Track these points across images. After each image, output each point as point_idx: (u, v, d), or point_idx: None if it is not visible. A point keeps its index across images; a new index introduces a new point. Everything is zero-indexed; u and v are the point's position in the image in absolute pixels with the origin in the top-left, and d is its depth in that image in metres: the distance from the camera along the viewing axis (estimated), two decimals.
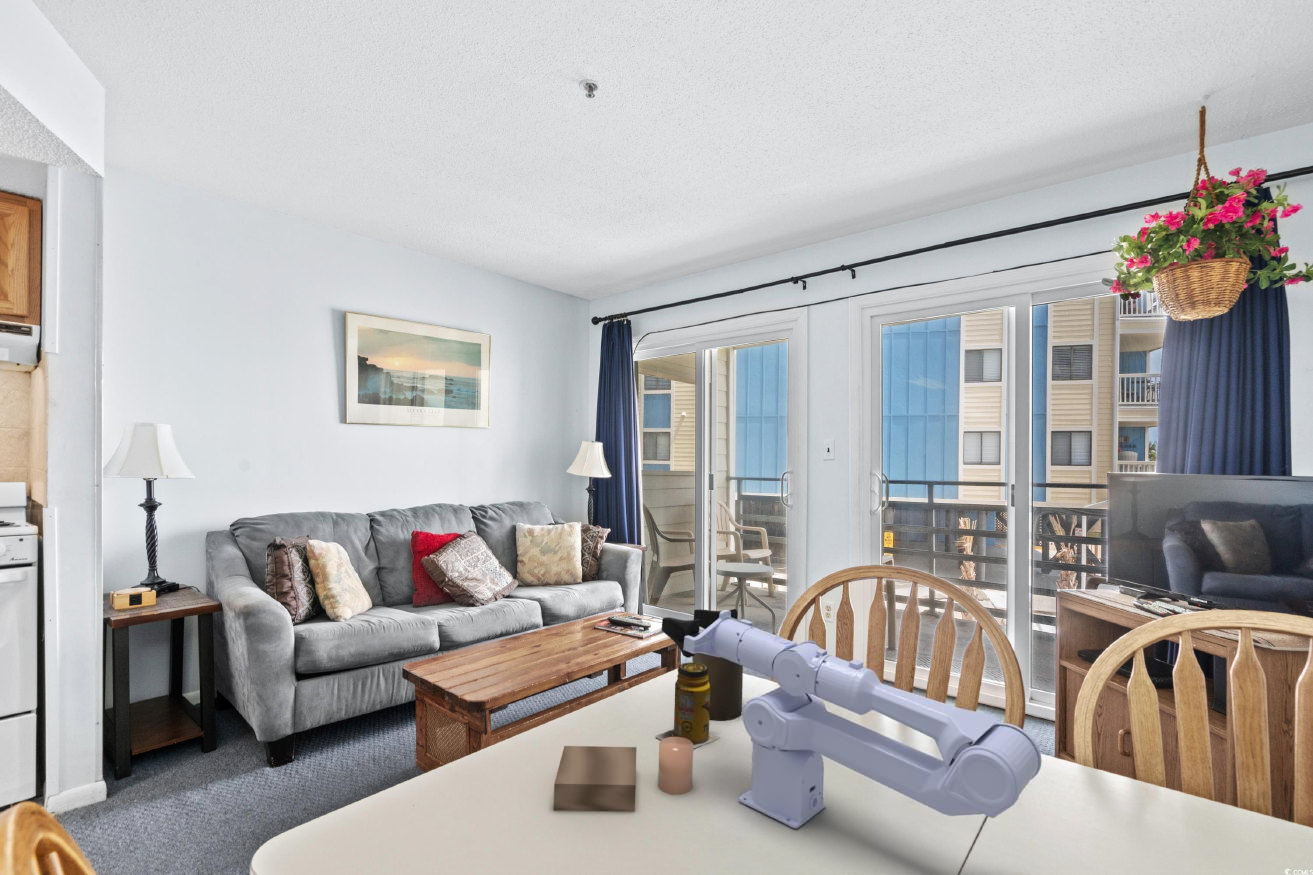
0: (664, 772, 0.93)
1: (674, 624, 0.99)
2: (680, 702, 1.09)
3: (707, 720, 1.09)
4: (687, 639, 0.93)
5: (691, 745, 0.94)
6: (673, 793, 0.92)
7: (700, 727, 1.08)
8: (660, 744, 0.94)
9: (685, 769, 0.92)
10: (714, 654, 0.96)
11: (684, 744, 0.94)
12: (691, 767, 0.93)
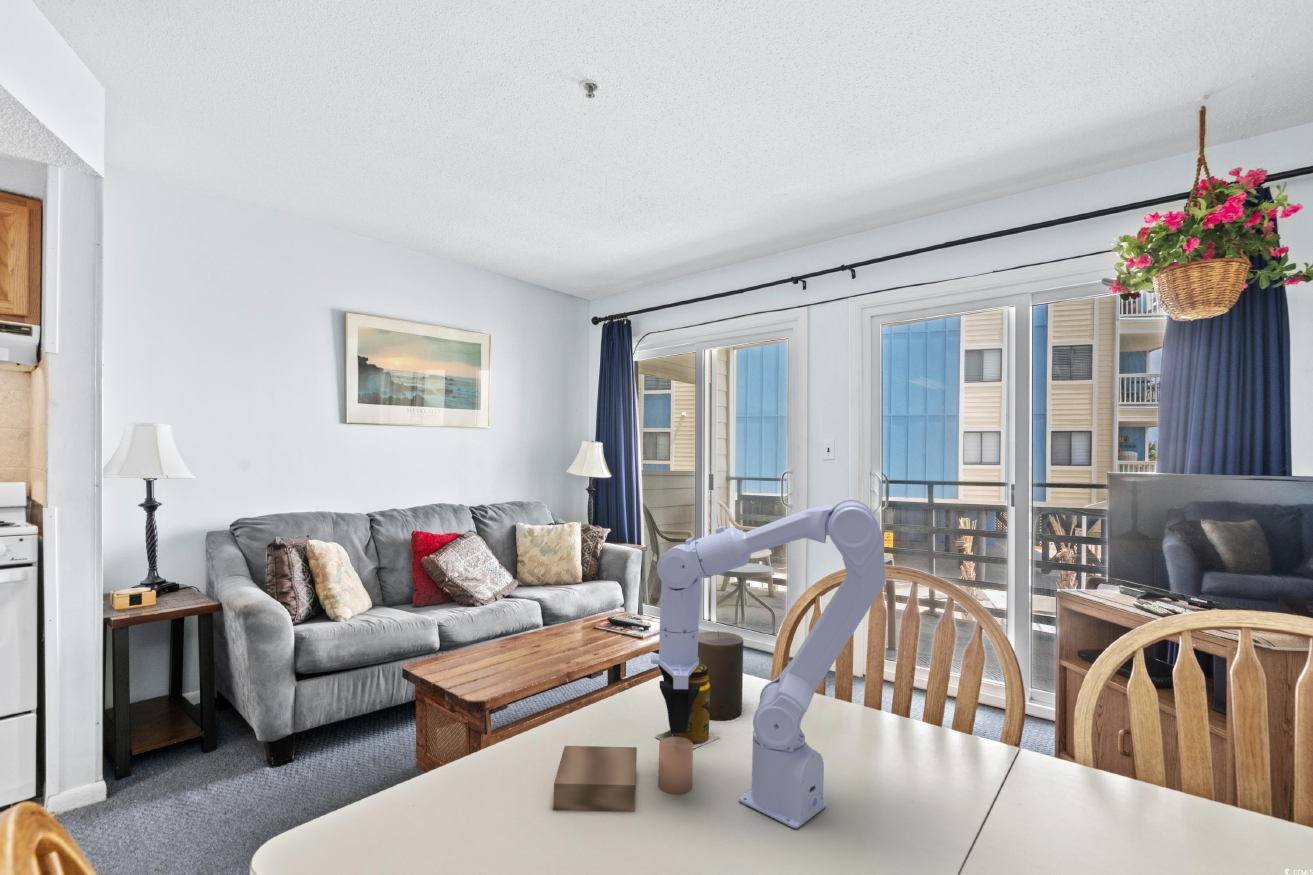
0: (664, 772, 0.93)
1: (672, 714, 0.90)
2: None
3: (707, 720, 1.09)
4: (675, 684, 0.87)
5: (691, 745, 0.94)
6: (673, 793, 0.92)
7: (700, 727, 1.08)
8: (660, 744, 0.94)
9: (685, 769, 0.92)
10: (694, 662, 0.93)
11: (684, 744, 0.94)
12: (691, 767, 0.93)
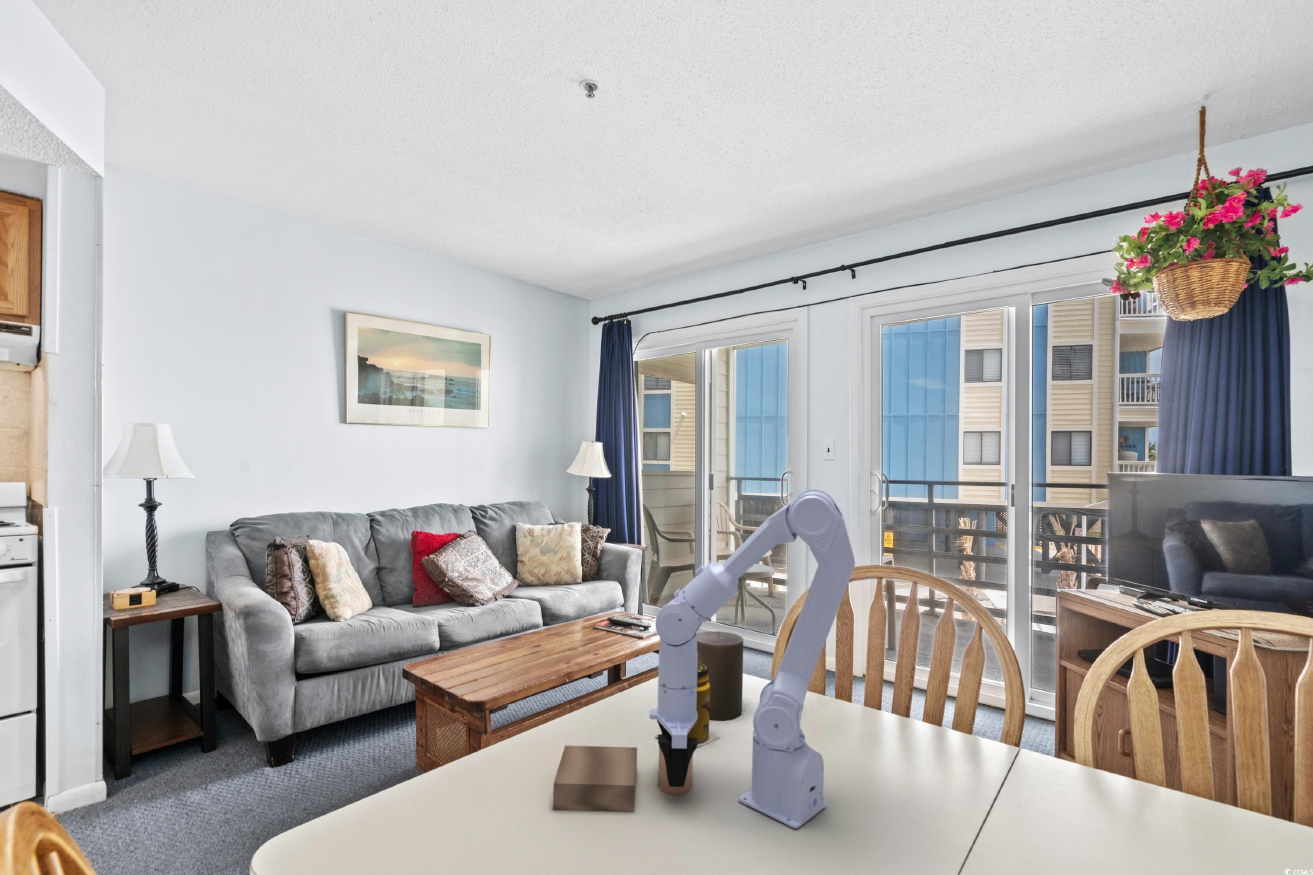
0: (664, 772, 0.93)
1: (671, 767, 0.91)
2: None
3: (707, 720, 1.09)
4: (674, 743, 0.87)
5: None
6: (673, 793, 0.92)
7: (700, 727, 1.08)
8: None
9: None
10: (693, 718, 0.92)
11: None
12: (691, 767, 0.93)
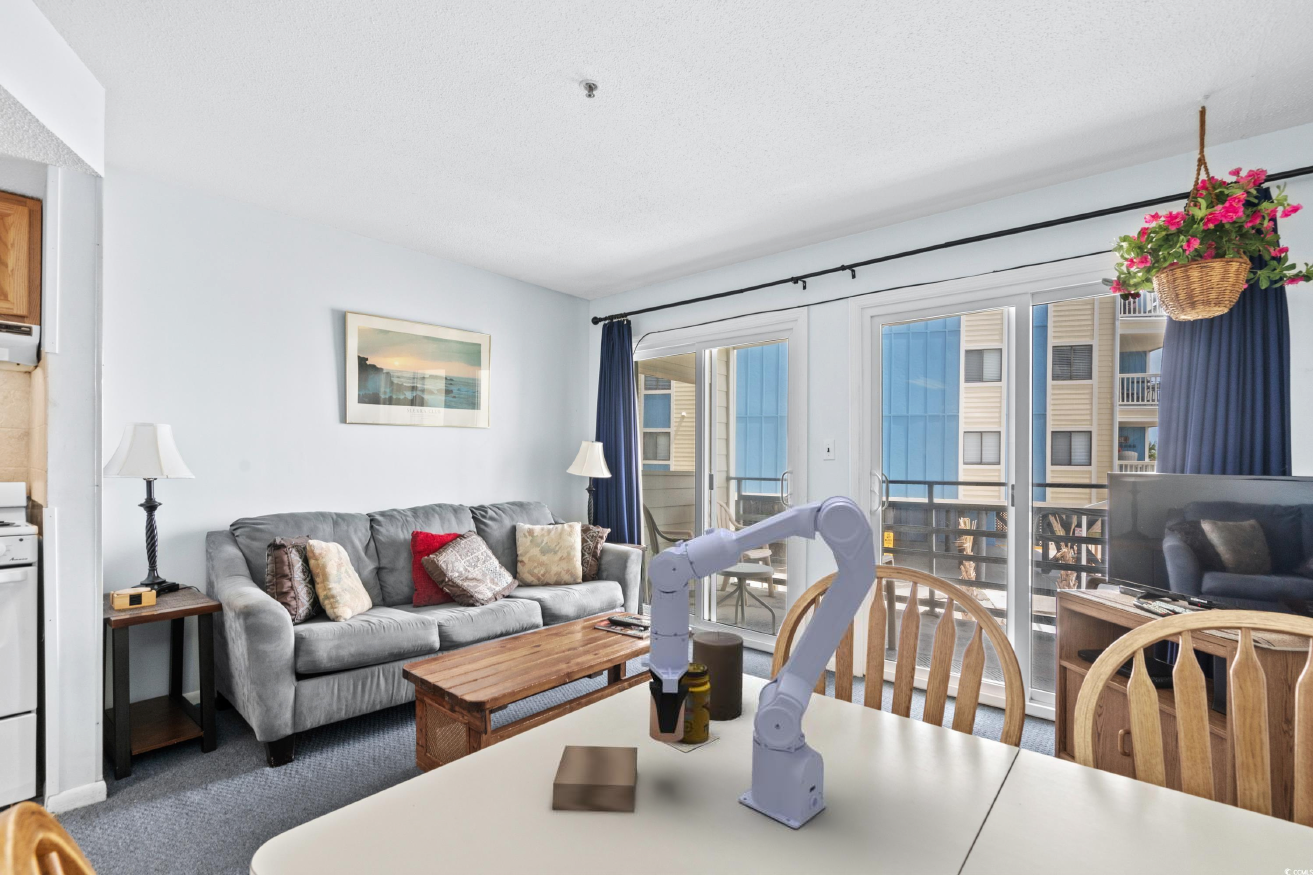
0: (655, 720, 0.93)
1: (662, 714, 0.91)
2: None
3: (707, 720, 1.09)
4: (665, 687, 0.87)
5: None
6: (664, 741, 0.92)
7: (700, 727, 1.08)
8: None
9: None
10: (684, 666, 0.92)
11: None
12: (682, 716, 0.93)
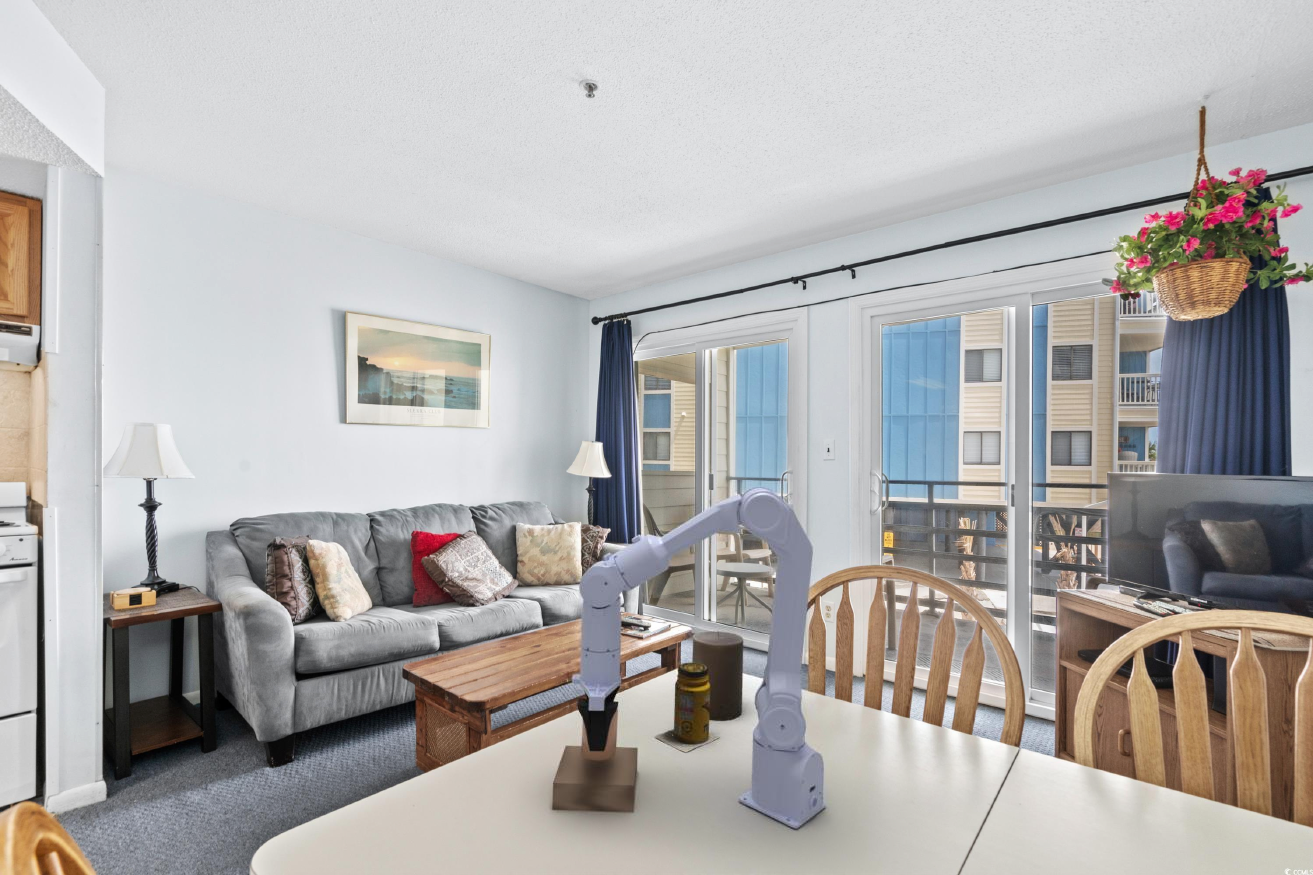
0: None
1: (591, 732, 0.90)
2: (680, 702, 1.09)
3: (707, 720, 1.09)
4: (591, 705, 0.86)
5: (616, 711, 0.93)
6: (595, 759, 0.90)
7: (700, 727, 1.08)
8: None
9: None
10: (614, 682, 0.91)
11: None
12: (615, 733, 0.92)
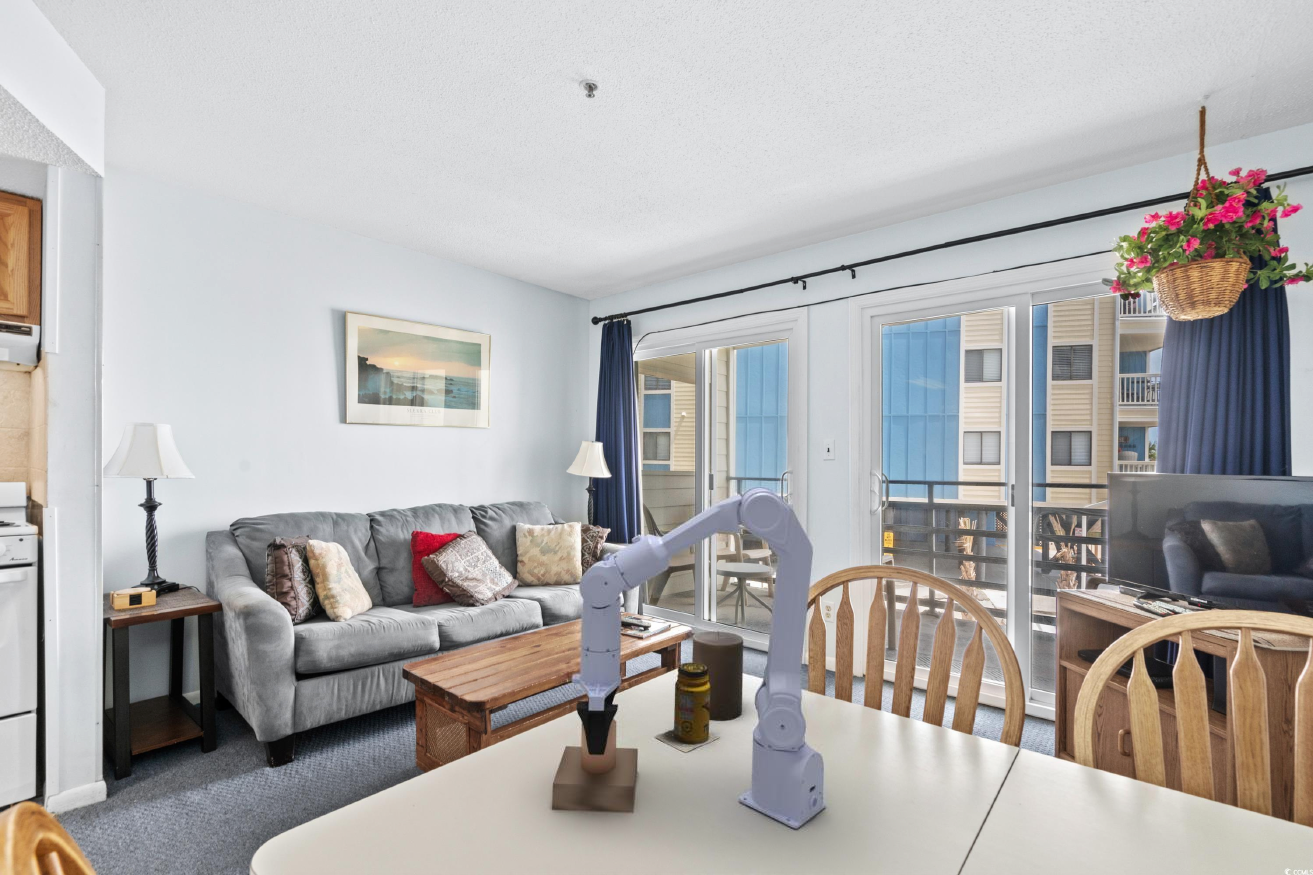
0: (586, 751, 0.91)
1: (590, 735, 0.89)
2: (680, 702, 1.09)
3: (707, 720, 1.09)
4: (590, 705, 0.86)
5: (614, 723, 0.93)
6: (594, 772, 0.90)
7: (700, 727, 1.08)
8: (582, 723, 0.93)
9: (606, 747, 0.91)
10: (614, 682, 0.91)
11: None
12: (614, 746, 0.92)
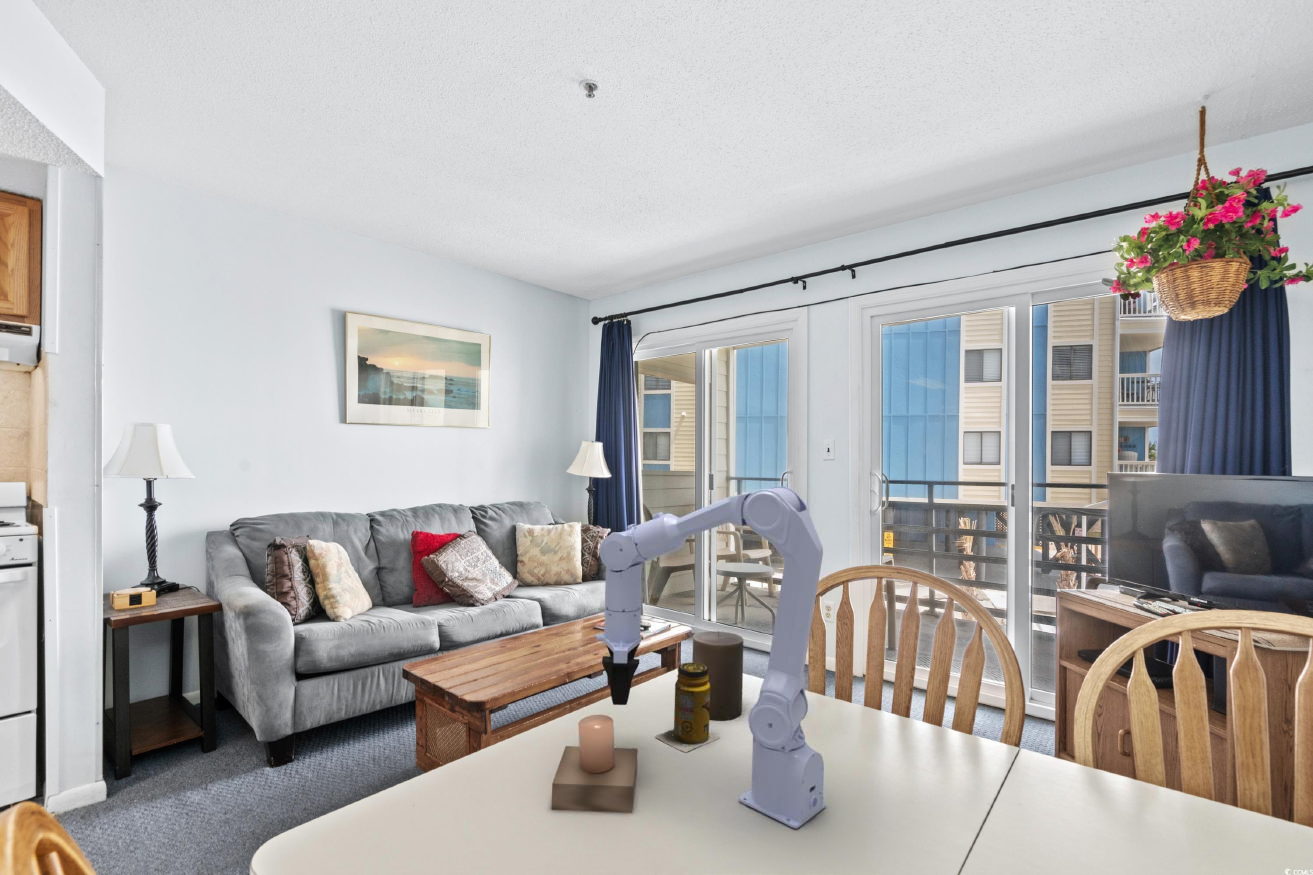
0: (585, 751, 0.91)
1: (614, 687, 0.97)
2: (680, 702, 1.09)
3: (707, 720, 1.09)
4: (615, 658, 0.94)
5: (611, 721, 0.93)
6: (595, 771, 0.90)
7: (700, 727, 1.08)
8: (579, 724, 0.92)
9: (605, 746, 0.91)
10: (636, 639, 0.99)
11: (604, 721, 0.93)
12: (612, 743, 0.92)
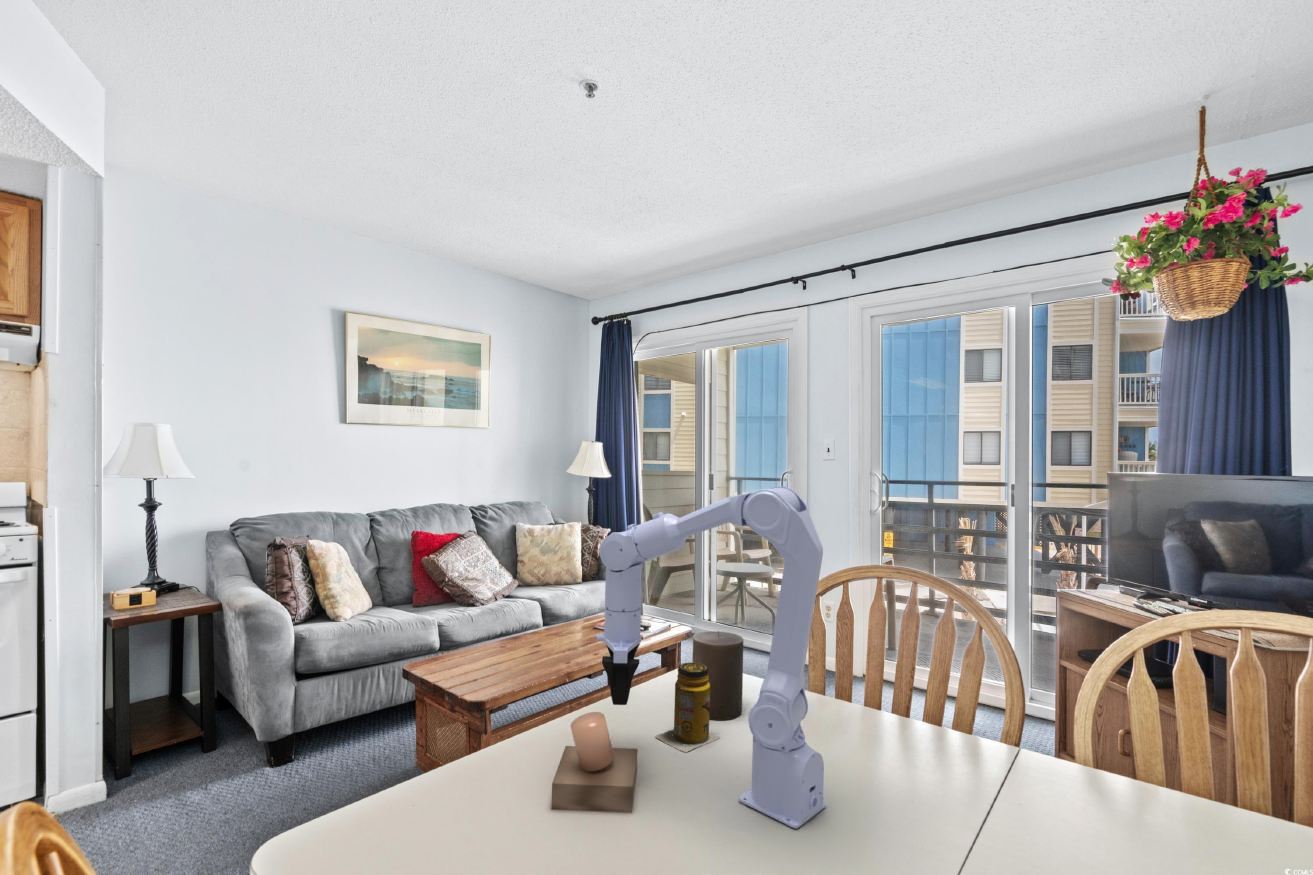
0: (583, 752, 0.90)
1: (614, 687, 0.97)
2: (680, 702, 1.09)
3: (707, 720, 1.09)
4: (615, 658, 0.94)
5: (603, 716, 0.93)
6: (597, 769, 0.90)
7: (700, 727, 1.08)
8: (572, 727, 0.92)
9: (603, 741, 0.91)
10: (636, 639, 0.99)
11: (596, 718, 0.93)
12: (608, 737, 0.92)
